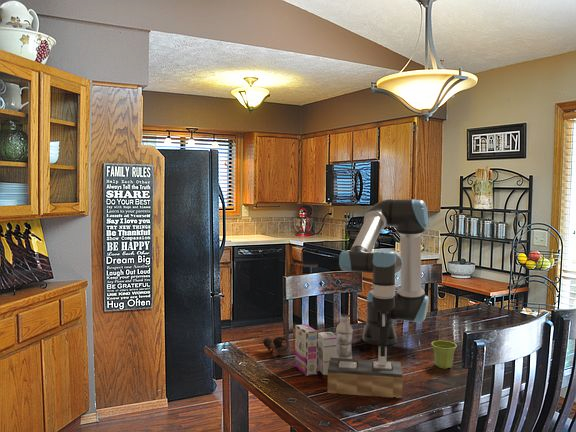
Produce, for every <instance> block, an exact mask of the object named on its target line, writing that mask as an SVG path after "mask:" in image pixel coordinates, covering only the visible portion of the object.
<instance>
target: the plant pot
mask: <svg viewBox="0 0 576 432" xmlns="http://www.w3.org/2000/svg"><path fill="white" fill-rule="evenodd" d="M430 344H431V346H432V349H433V356H434V364H435V366H436V367H438V368H439V369H445V370H446V369H448V368H450V369H451V368H452V367H453V361H454V355H455V351H456V349H457V344H456V343H455V342H452V341H449V340H434V341H432V342H431V343H430Z"/></svg>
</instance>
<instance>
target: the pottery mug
mask: <svg viewBox="0 0 576 432" xmlns="http://www.w3.org/2000/svg"><path fill="white" fill-rule="evenodd" d="M283 342H285V343H286V345H284V344H283ZM262 343H263V345H264V347H265V348H266V349H267V351H268V352H269V351H272V357H274V358H276V357H277V356H280V355H284V354H286V353H287V352H288V351H289V350H290V349H291V346H290V342H289V340H288V338H287V337H285V336H282V335H277V336H274V337H273V338H272V339H271V338H269V337H265V338H264V339H263V341H262Z"/></svg>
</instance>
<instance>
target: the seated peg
mask: <svg viewBox="0 0 576 432" xmlns="http://www.w3.org/2000/svg"><path fill="white" fill-rule="evenodd" d="M338 368H354V369H357V362H347V361H339V367H338Z"/></svg>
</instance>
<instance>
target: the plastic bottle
mask: <svg viewBox="0 0 576 432" xmlns="http://www.w3.org/2000/svg"><path fill="white" fill-rule="evenodd" d="M339 321H340V322H339V323H338V324H337V326H336V329H335V330H336V331H335V332H336V336H337V358H346V359H354V358H353V353H352V341H353V340H352V339H353V332H354V328H353V326H352V325H351V323H350V321H351V319H350V315H348V314H341V315H339Z"/></svg>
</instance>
